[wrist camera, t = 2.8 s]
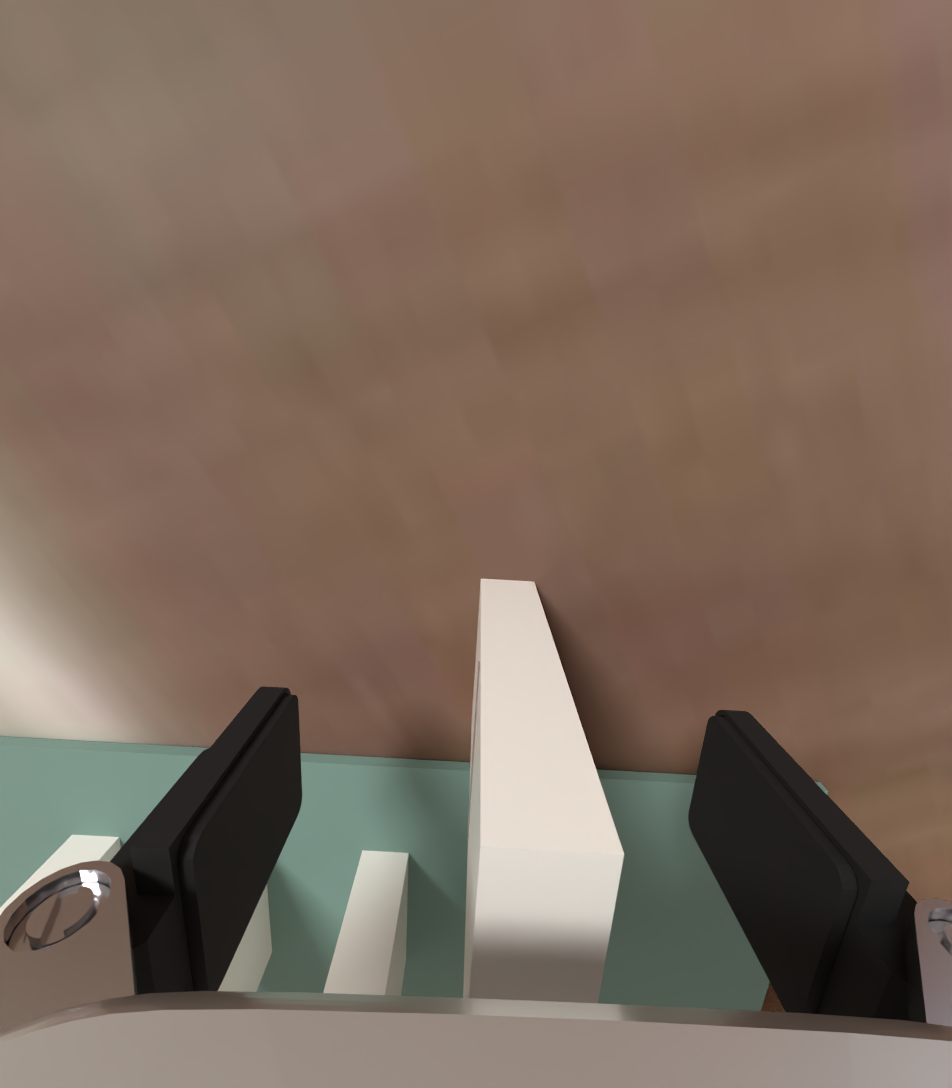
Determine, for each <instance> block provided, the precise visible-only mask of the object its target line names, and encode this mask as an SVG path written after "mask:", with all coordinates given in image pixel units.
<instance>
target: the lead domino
mask: <svg viewBox="0 0 952 1088" xmlns="http://www.w3.org/2000/svg"><path fill="white" fill-rule="evenodd" d="M467 839H468V857H467V889H466V922H465V954H464V986H463V998H477V999H502V1000H527V1001H551V1002H575V1003H598V999H599V994H600V988H601V982H602V977H603V971H604V965H605V960H606V954H607V948H608V943H609V937H610V931H611V926H612V920H613V914H614V909H615V903H616V897H617V892H618V886H619V881H620V875H621V869H622V864H623V858H624V852H623V849H622V846H621V843H620V840H619V837H618V834H617V831H616V828H615V825H614V822H613V819H612V816H611V813H610V810H609V807H608V804H607V801H606V798H605V795H604V792H603V789H602V786H601V783H600V780H599V777H598V773H597V770H596V767H595V764H594V761H593V758H592V755H591V752H590V749H589V746H588V743H587V740H586V737H585V734H584V731H583V728H582V725H581V722H580V719H579V716H578V713H577V710H576V707H575V704H574V701H573V698H572V695H571V692H570V689H569V686H568V683H567V680H566V677H565V674H564V671H563V668H562V665H561V661H560V658H559V655H558V652H557V649H556V646H555V643H554V640H553V637H552V634H551V631H550V628H549V625H548V622H547V619H546V616H545V613H544V610H543V607H542V604H541V601H540V598H539V595H538V592H537V589H536V586H535V583H534V582H531V581H513V580H496V579H481V584H480V600H479V615H478V631H477V647H476V663H475V678H474V694H473V710H472V728H471V761H470V793H469V814H468V829H467Z"/></svg>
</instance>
